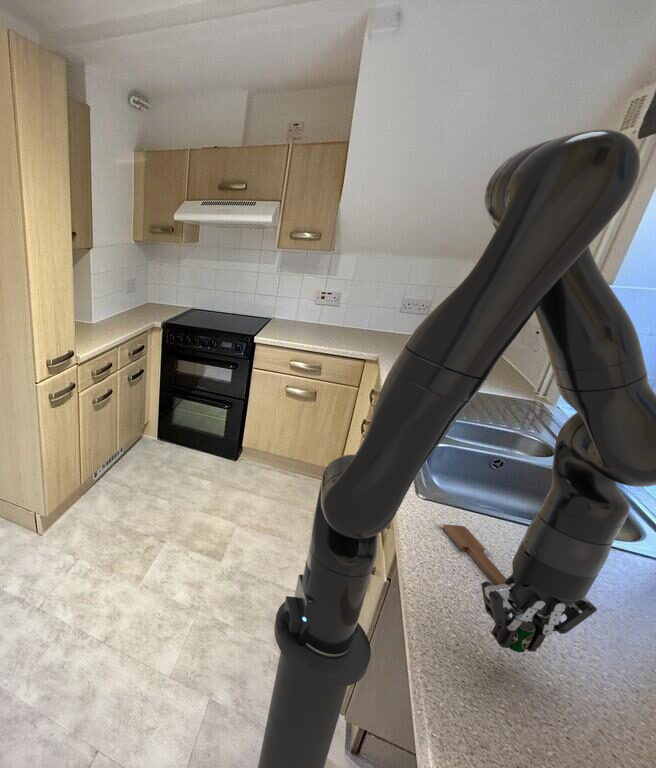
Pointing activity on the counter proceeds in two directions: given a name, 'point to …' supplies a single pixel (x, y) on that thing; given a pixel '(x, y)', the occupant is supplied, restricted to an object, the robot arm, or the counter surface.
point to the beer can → (522, 637)
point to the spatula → (474, 551)
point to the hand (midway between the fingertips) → (512, 643)
